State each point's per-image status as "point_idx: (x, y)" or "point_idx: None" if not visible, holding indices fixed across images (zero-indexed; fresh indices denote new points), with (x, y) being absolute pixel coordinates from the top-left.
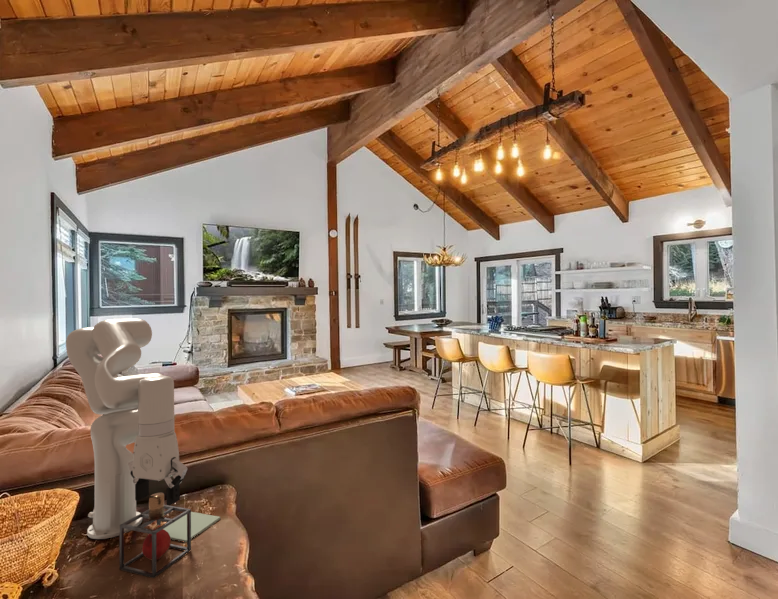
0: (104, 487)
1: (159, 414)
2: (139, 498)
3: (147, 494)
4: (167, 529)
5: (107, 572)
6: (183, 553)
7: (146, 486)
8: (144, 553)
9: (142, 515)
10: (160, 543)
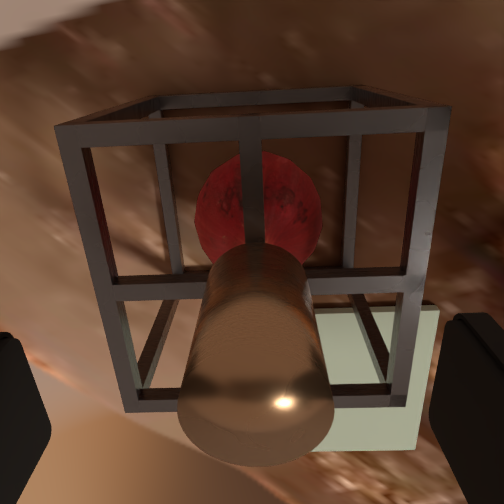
0: None
1: None
2: (449, 341)
3: (436, 419)
4: (388, 346)
5: (402, 48)
6: (169, 250)
7: (484, 502)
8: (265, 151)
9: (389, 274)
10: (198, 204)
